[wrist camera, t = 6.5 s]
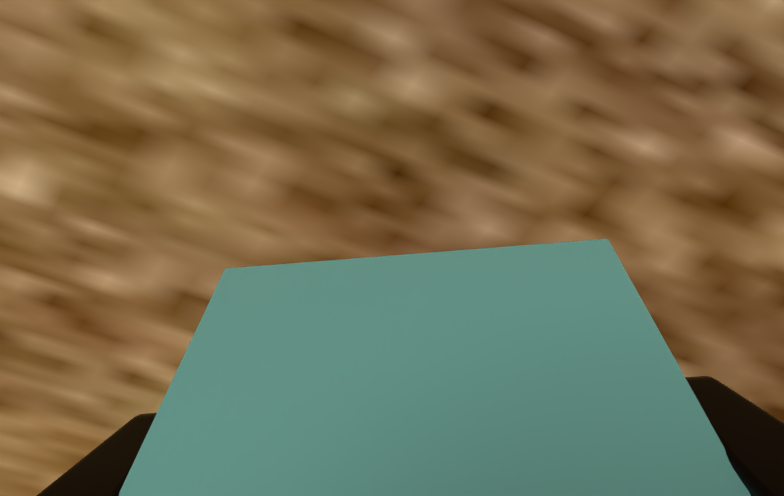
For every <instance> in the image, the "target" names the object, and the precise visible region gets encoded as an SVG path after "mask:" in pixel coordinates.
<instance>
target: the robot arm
mask: <svg viewBox="0 0 784 496" xmlns="http://www.w3.org/2000/svg"><path fill="white" fill-rule="evenodd" d="M685 378H686V380H687V382H688V384H689V385H690V387H691V389H692V391H693V392H694V394H695V396H696V398H697V400H698V401H699V403H700V405H701V407H702V409H703V410H704V412H705V414H706V416H707V418H708V419H709V421H710V423H711V425H712V427H713V428H714V430H715V432H716V434H717V436H718V437H719V439H720V441H721V443H722V444H723V446H724V448H725V451H726V455H727V457H728V459H729V462H730V464H731V465H732V467H733V469H734V470H735V472H736V473H737V475H738V477H739V478H740V480H741V481H742V483H743V484H744V485H745V487H746V488H747V489H748V491H749V493H750V495H751V496H784V423H783V422H781V421H780V420H778V419H776V418H775V417H773V416H772V415H770V414H769V413H767V412H766V411H764V410H762V409H761V408H759V407H758V406H756V405H755V404H753V403H752V402H750V401H749V400H747V399H745V398H744V397H742V396H741V395H739V394H738V393H736V392H735V391H733V390H731V389H730V388H728V387H727V386H725V385H724V384H722V383H721V382H719V381H717V380H716V379H714V378H711V377H708V376H699V377H685ZM156 414H157V413H148V414H141V415H138V416H136V417H134V418H133V419H131V420H130V421H129V422H128V423H126V424H125V425H124V426H123V427H121V428H120V429H119V430H118V431H116V432H115V433H114V434H113V435H112V436H110V437H109V438H108V439H107V440H105V441H104V442H103V443H102V444H100V445H99V446H98V447H97V448H95V449H94V450H93V451H92V452H90V453H89V454H88V455H87V456H85V457H84V458H83V459H82V460H80V461H79V462H78V463H77V464H75V465H74V466H73V467H72V468H71V469H69V470H68V471H67V472H66V473H64V474H63V475H62V476H61V477H59V478H58V479H57V480H56V481H54V482H53V483H52V484H51V485H49V486H48V487H47V488H46V489H44V490H43V491H42V492H41V493H39V494H38V495H37V496H119V493H120V490H121V488H122V486H123V484H124V482H125V480H126V477H127V475H128V473H129V471H130V469H131V467H132V465H133V463H134V461H135V458H136V456H137V454H138V452H139V450H140V448H141V446H142V444H143V441H144V439H145V437H146V435H147V433H148V431H149V429H150V427H151V425H152V422H153V420H154V418H155V416H156Z"/></svg>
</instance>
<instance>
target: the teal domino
mask: <svg viewBox="0 0 784 496" xmlns="http://www.w3.org/2000/svg"><path fill="white" fill-rule="evenodd" d="M119 496H751V495H750V493H749V491H748V489H747V488H746V487H745V485H744V484H743V483H742V481H741V480H740V478H739V477H738V475H737V473H736V472H735V470H734V469H733V467H732V465H731V464H730V462H729V459H728V457H727V455H726V451H725V448H724V446H723V444H722V443H721V441H720V439H719V437H718V436H717V434H716V432H715V430H714V428H713V427H712V425H711V423H710V421H709V419H708V418H707V416H706V414H705V412H704V410H703V409H702V407H701V405H700V403H699V401H698V400H697V398H696V396H695V394H694V392H693V391H692V389H691V387H690V385H689V384H688V382H687V380H686V378H685V376H684V375H683V373H682V371H681V369H680V367H679V366H678V364H677V362H676V360H675V358H674V357H673V355H672V353H671V351H670V349H669V348H668V346H667V344H666V342H665V341H664V339H663V337H662V335H661V333H660V332H659V330H658V328H657V326H656V324H655V323H654V321H653V319H652V317H651V315H650V314H649V312H648V310H647V308H646V306H645V305H644V303H643V301H642V299H641V297H640V296H639V294H638V292H637V290H636V289H635V287H634V285H633V283H632V281H631V280H630V278H629V276H628V274H627V272H626V271H625V269H624V267H623V265H622V263H621V262H620V260H619V258H618V256H617V254H616V253H615V251H614V249H613V247H612V245H611V244H610V242H609V240H608V239H598V240H586V241H573V242H560V243H547V244H534V245H521V246H509V247H496V248H483V249H470V250H457V251H444V252H432V253H419V254H406V255H393V256H380V257H368V258H355V259H342V260H329V261H316V262H303V263H291V264H278V265H265V266H252V267H239V268H226V269H225V270H224V272H223V274H222V276H221V278H220V280H219V283H218V285H217V287H216V289H215V291H214V293H213V295H212V297H211V300H210V302H209V304H208V306H207V308H206V310H205V312H204V314H203V316H202V319H201V321H200V323H199V325H198V327H197V329H196V331H195V333H194V336H193V338H192V340H191V342H190V344H189V346H188V348H187V350H186V352H185V355H184V357H183V359H182V361H181V363H180V365H179V367H178V369H177V372H176V374H175V376H174V378H173V380H172V382H171V384H170V386H169V389H168V391H167V393H166V395H165V397H164V399H163V401H162V403H161V405H160V408H159V410H158V412H157V414H156V416H155V418H154V420H153V422H152V425H151V427H150V429H149V431H148V433H147V435H146V437H145V439H144V441H143V444H142V446H141V448H140V450H139V452H138V454H137V456H136V458H135V461H134V463H133V465H132V467H131V469H130V471H129V473H128V475H127V477H126V480H125V482H124V484H123V486H122V488H121V490H120V493H119Z"/></svg>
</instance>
